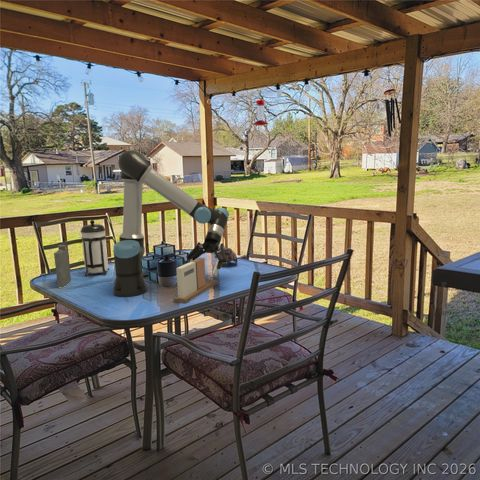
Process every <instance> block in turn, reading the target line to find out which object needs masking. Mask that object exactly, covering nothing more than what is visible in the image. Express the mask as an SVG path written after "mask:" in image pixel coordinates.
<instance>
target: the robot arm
mask: <svg viewBox="0 0 480 480" xmlns="http://www.w3.org/2000/svg"><path fill="white" fill-rule="evenodd" d="M117 162H118V163H117V164H118V169H120V180H121V181H122V182H123V208H122V209H123V212H122V213H123V215H122V216H123V218H122V222H123V223H122V233H121V234H120V235H119V239H118V241H117V242H116V243H115V244H114V245H113V249H112V253H113V258H114V259H113V260H114V270H115V280H114V284H113V289H112V292H113V293H112V294H113V295H114V296H117V297H126V298H127V297H134V296H139V295H142V294H145V293H146V292H147V291H148V285H147V283H146V280H145V278H144V275H143V272H142V271H143V270H142V268H143V267H142V258H143V256H144V254H145V236H144V235H143V233H142V216H143V215H142V210H143V187H144V186H143V184H145V185H146V186H148V188H151V190H153V191H155V193H157V194H159V195H160V196H161V197H163V199H166V200H167V201H169V202H170V203H172V204H173V205H174V206H176V207H177V208H178V209H180V210H182V211H183V212H184V213H186V214H187V215H189V216H190V217H191V218H193V219H194V220H195V221H196V222H197V223H198V224H201V225H203V224H209V226H208V230H207V231H206V235H205V238H204V242H203V243H201V242H200V241H198V242H197V243H196V246H195V247H194V248H193V249H192V250H191V251H190V252H189V253H188V254H187V255H186V259H187V260H188V262H187V263H189V262H191V261H194V260H196V259H198V258H201V256H202V255H204V254H206V253H207V254H213V253H214V255H215V256H216V257H217V258H216V259H217V260H216V262H215V265H214V268H213V272H212V274H213V276H214V277H217V275H218V272H219V270H221V268H222V267H221V265H222V263H225V264H227V261H226V256H225V251H224V248H226V247H225V244H224V243H221V241H222V238H223V235H224V232H225V228H226V225H227V224H228V221H229V215H230V214H229V213H230V212H229V211H228V210H227V208H224V207H219V206H218V207H216V208H211V207H210V206H208V205H205V204H203V203H202V202H199V201H198V200H197V199H195V198H194V197H192V196H191V195H190V194H188V193H187V192H186V191H185V190H183V189H181V188H180V187H179V186H178V185H177V184H174V183H173V182H172V181H170V180H169V179H168V178H166V177H165V176H163V175H162V174H161V173H159V172H158V171H156V170H155V169H154V168H153V165H152V164H151V163H149V162H148V160H147V158H146V156H145V155H144V154H143V153H141V152H140V151H138V150H137V151H136V150H135V149H134V150H132V149H129V150H124V152H123V153H121V154H120V156H119V157H118V161H117ZM218 248H220V250H221V255H222V259H221V258H220V256H219V255H218V251H216V250H217V249H218Z"/></svg>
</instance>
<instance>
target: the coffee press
mask: <svg viewBox="0 0 480 480" xmlns="http://www.w3.org/2000/svg"><path fill="white" fill-rule="evenodd" d="M89 223H90V224H87V225H83V226H82V227H81V229H80V233H81V238H80V239H81V241H82V250H83V251H82V253H83V260H84V261H83V262H84V268H85V269H84V270H85V273H84V276H85V277H87V276H88V277H89V275H91V274H102V275H103V274H104V275H103V276H106V275H107V271H106V270H109V271H110V268H109V260H108V252H107V240H106V239H107V236H106V228H105V226H104V225H102V224H100V223H98V224H97V223H95V220H93V219H91V220H90V221H89Z"/></svg>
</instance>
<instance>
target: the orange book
mask: <svg viewBox="0 0 480 480" xmlns="http://www.w3.org/2000/svg"><path fill="white" fill-rule="evenodd" d="M205 260H206V259H205V257H198V258H197V259H196V260H194V261H191V262H196V279H197V289H199V288H201V287H202V286H204V285H206V264H205Z"/></svg>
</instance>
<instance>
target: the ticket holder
mask: <svg viewBox="0 0 480 480" xmlns="http://www.w3.org/2000/svg"><path fill="white" fill-rule="evenodd" d="M188 262H189V261H188ZM188 262H187V263H184V264H182V265H181V266H178V267H176V282H177V283H176V284H177V296H175V297H173V303H182V304H187V303H188V302H190V301H192V300H193V299H195V298H197V297H198V296H200V295H201V294H204V293H205V292H206V291H208V290H209V289H211V288H212V287H214V286H217V284H218V283H219V282H218V280H216V279H206V278H205V280H206V285H204V286H202V287H201V288H199V289H197V279H196V262H189V263H188Z"/></svg>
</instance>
